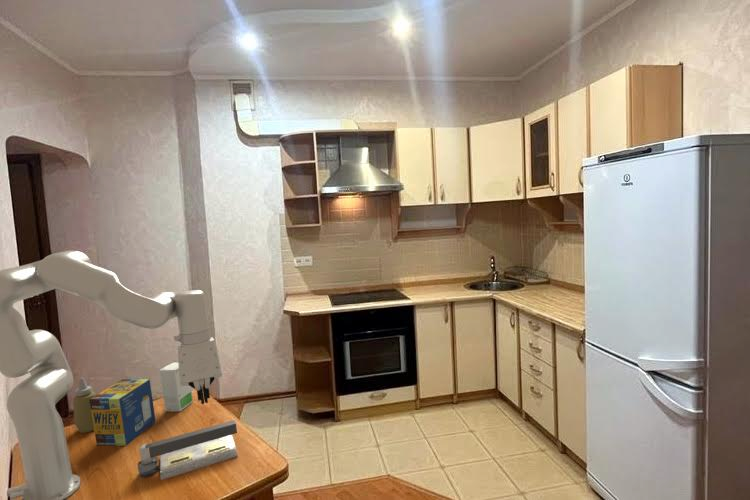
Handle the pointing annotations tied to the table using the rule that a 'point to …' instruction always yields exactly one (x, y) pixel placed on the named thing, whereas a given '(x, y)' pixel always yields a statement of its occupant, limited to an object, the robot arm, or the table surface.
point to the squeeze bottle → (83, 407)
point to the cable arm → (185, 441)
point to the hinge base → (148, 468)
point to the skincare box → (174, 389)
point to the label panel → (197, 456)
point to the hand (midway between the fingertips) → (204, 401)
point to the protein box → (122, 412)
